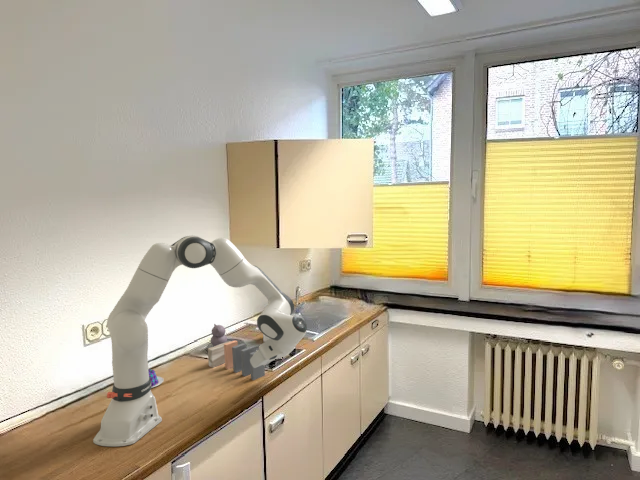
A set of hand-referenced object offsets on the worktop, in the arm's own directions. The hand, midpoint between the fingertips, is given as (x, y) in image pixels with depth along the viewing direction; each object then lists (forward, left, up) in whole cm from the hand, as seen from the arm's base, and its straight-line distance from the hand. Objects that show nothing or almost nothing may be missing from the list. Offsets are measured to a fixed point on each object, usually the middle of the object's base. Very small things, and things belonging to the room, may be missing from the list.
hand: (265, 363), depth 181 cm
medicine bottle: (+47, +8, -8) cm, 48 cm away
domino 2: (+6, +9, -7) cm, 13 cm away
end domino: (+13, +18, -7) cm, 24 cm away
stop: (+17, +24, -7) cm, 31 cm away
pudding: (-5, +48, -8) cm, 49 cm away
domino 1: (+10, +14, -7) cm, 18 cm away
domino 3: (+3, +4, -7) cm, 9 cm away
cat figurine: (+33, +31, -8) cm, 46 cm away
